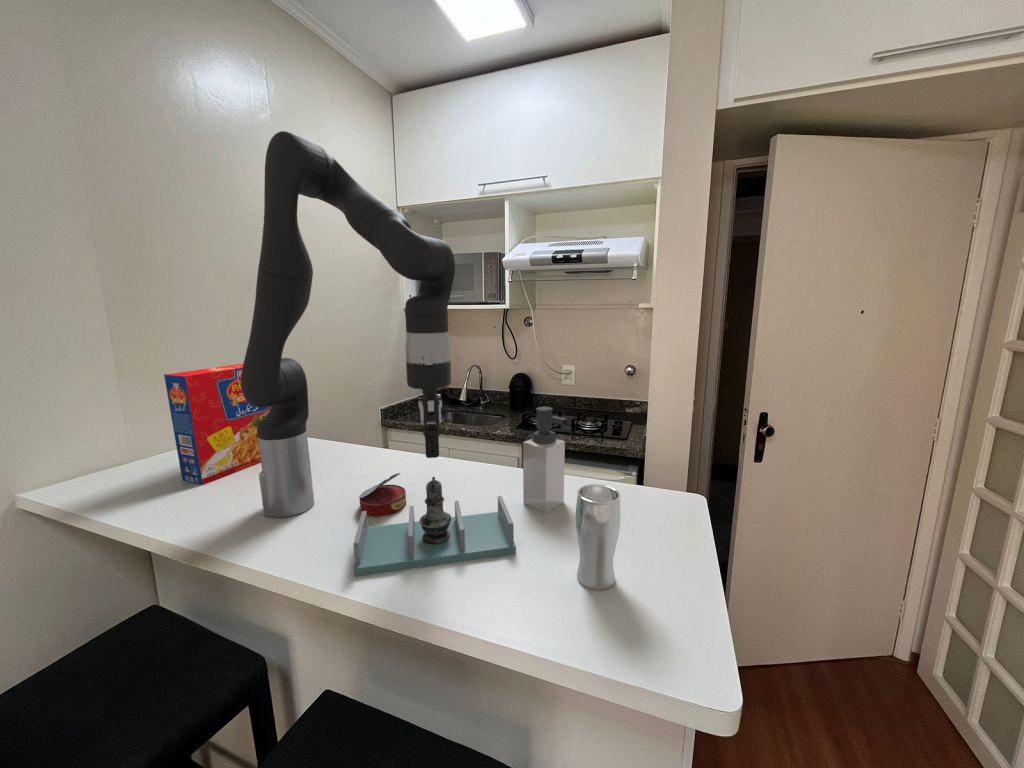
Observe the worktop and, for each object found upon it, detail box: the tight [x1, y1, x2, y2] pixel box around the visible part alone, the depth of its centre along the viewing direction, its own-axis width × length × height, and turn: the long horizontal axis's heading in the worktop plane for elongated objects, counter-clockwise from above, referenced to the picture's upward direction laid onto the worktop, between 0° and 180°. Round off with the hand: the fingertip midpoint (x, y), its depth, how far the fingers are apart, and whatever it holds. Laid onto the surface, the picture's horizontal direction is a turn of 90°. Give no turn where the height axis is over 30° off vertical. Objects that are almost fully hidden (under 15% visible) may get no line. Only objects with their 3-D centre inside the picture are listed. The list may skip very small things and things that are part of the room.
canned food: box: [358, 472, 407, 518], centre depth 91 cm, size 11×10×10 cm
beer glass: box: [575, 483, 622, 591], centre depth 66 cm, size 7×7×15 cm
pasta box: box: [163, 363, 271, 486], centre depth 115 cm, size 28×8×28 cm, turn 159°
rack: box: [352, 495, 517, 578], centre depth 77 cm, size 28×13×6 cm, turn 103°
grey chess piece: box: [418, 476, 452, 545], centre depth 76 cm, size 6×6×12 cm
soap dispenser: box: [522, 406, 568, 514], centre depth 90 cm, size 6×9×22 cm
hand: (431, 448), depth 73 cm, fingers open, 8 cm apart
